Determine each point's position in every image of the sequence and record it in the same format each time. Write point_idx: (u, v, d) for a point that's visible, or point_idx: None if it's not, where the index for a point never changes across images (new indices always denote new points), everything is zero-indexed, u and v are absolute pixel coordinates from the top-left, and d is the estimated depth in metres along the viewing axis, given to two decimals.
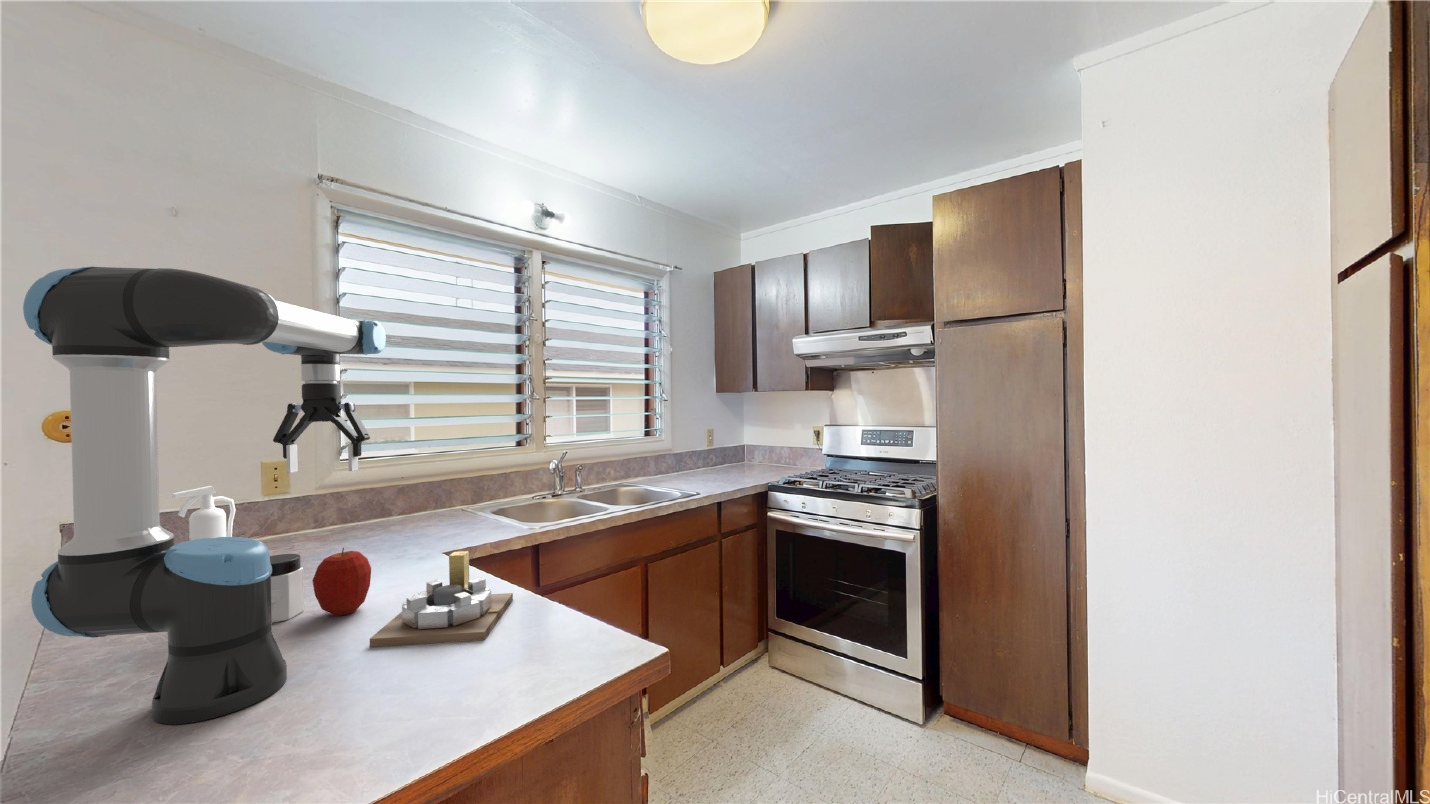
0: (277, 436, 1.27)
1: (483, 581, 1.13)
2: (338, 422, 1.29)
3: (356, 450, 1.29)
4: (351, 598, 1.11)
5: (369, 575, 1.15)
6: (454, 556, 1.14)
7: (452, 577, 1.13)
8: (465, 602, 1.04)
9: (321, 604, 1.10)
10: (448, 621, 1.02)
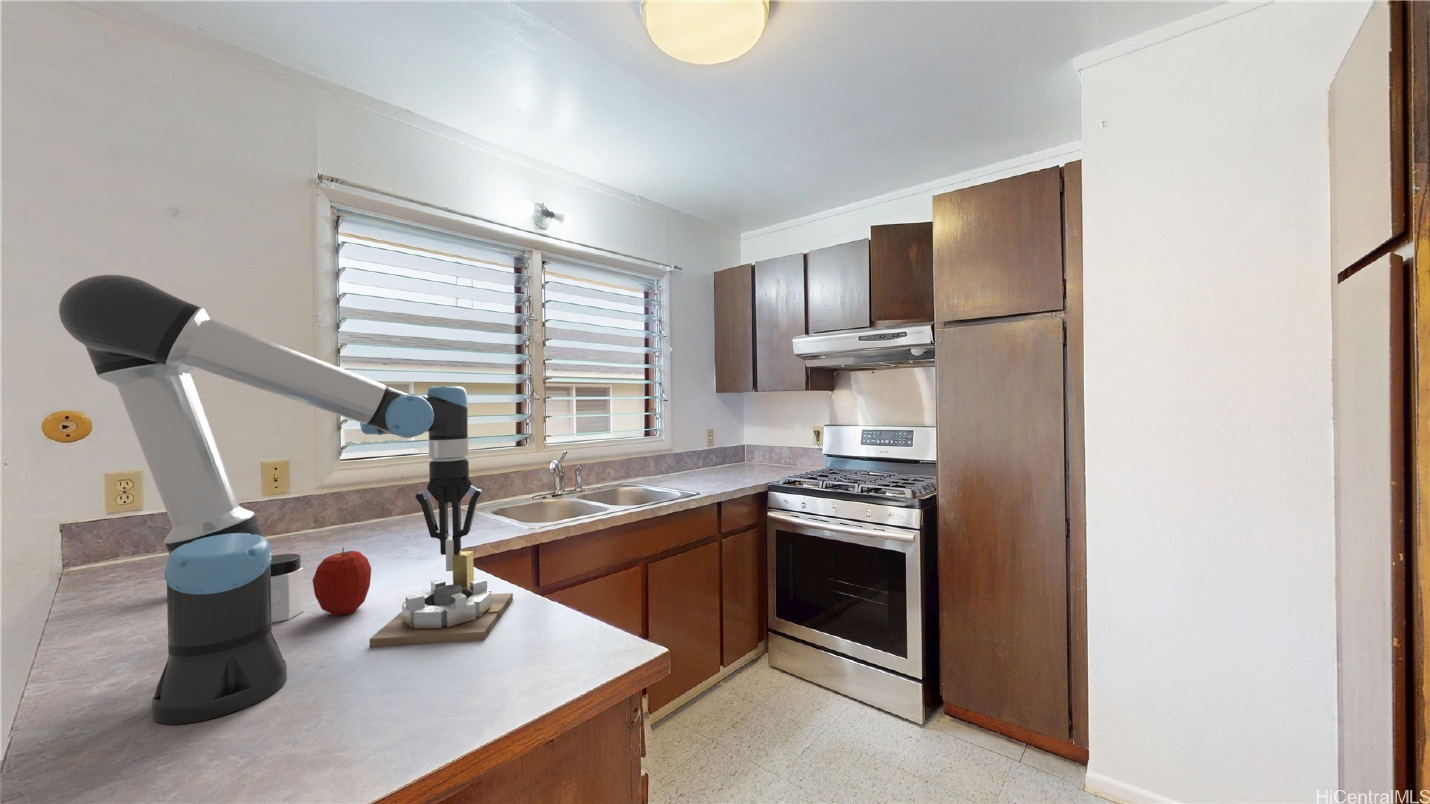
0: (431, 530, 1.13)
1: (484, 582, 1.13)
2: (456, 509, 1.14)
3: (457, 546, 1.15)
4: (351, 598, 1.11)
5: (369, 575, 1.15)
6: (457, 556, 1.14)
7: (455, 577, 1.14)
8: (460, 603, 1.03)
9: (321, 604, 1.10)
10: (442, 622, 1.02)
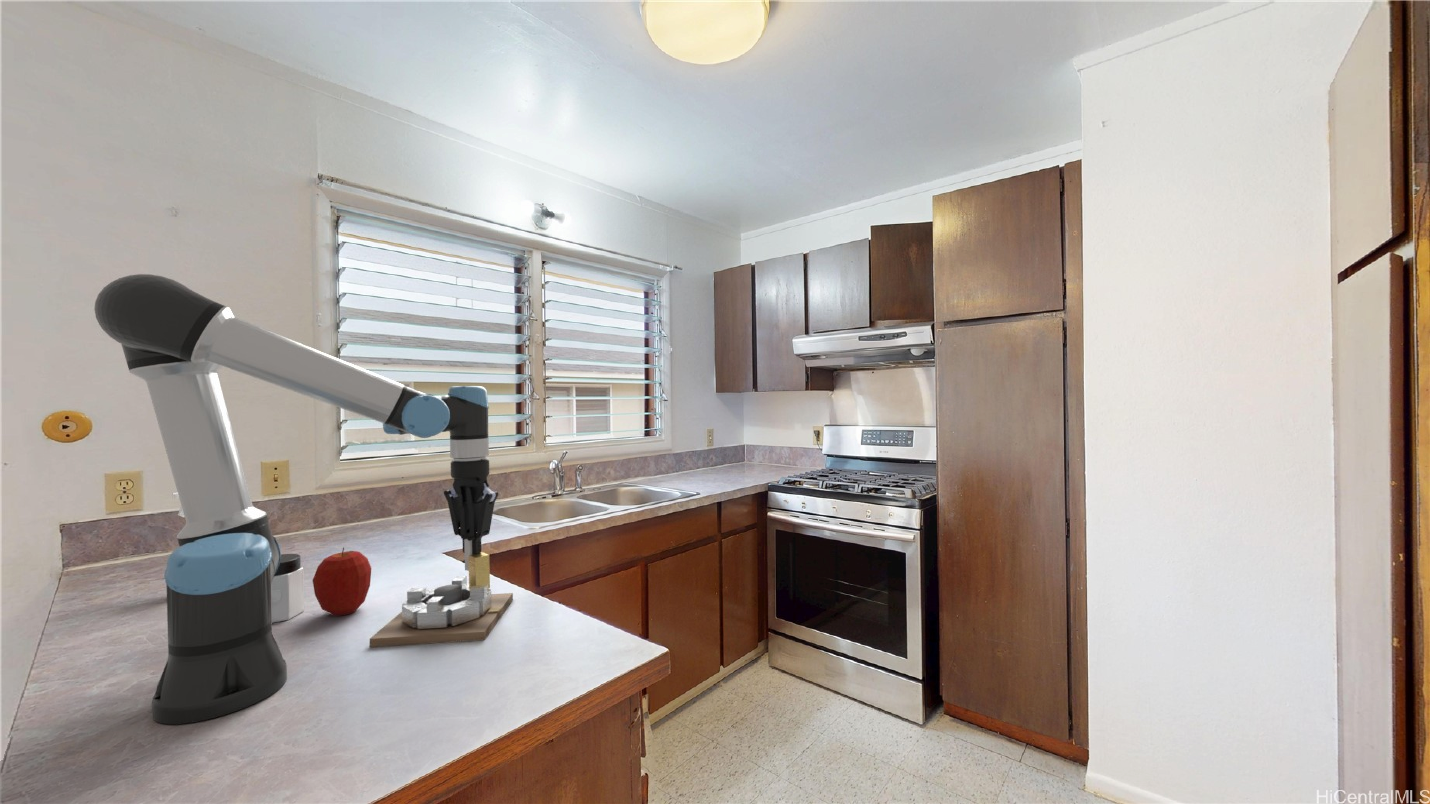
0: (455, 528, 1.15)
1: (481, 590, 1.08)
2: (472, 510, 1.13)
3: (474, 547, 1.14)
4: (351, 598, 1.11)
5: (369, 575, 1.15)
6: (471, 557, 1.13)
7: (470, 578, 1.13)
8: (431, 608, 1.01)
9: (321, 604, 1.10)
10: (416, 622, 1.02)
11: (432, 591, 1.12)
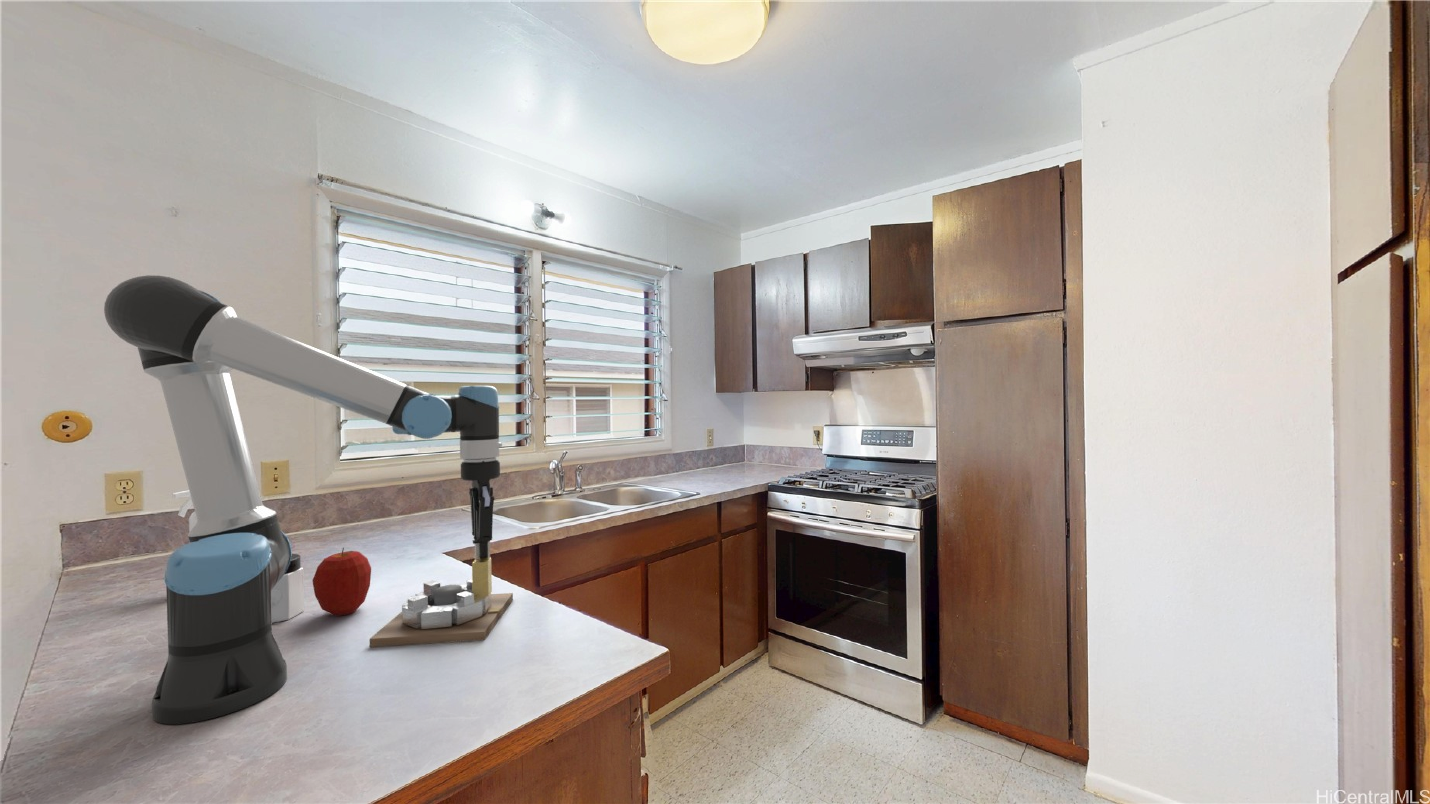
0: (472, 528, 1.15)
1: (462, 598, 1.04)
2: (476, 513, 1.11)
3: (480, 551, 1.11)
4: (351, 598, 1.11)
5: (369, 575, 1.15)
6: None
7: None
8: (409, 606, 1.03)
9: (321, 604, 1.10)
10: None
11: None
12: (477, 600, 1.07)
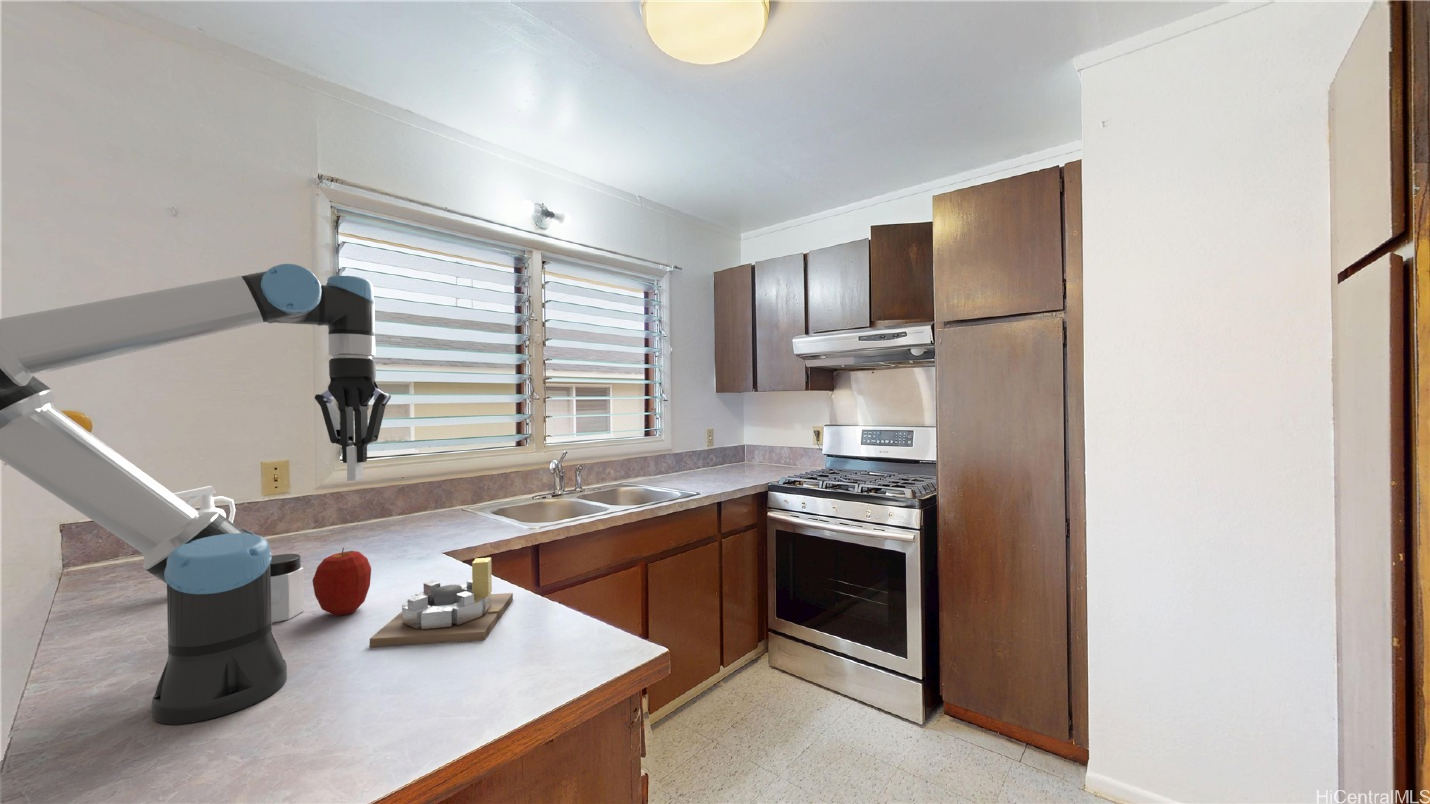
0: (332, 435, 1.03)
1: (462, 598, 1.04)
2: (359, 413, 1.04)
3: (361, 454, 1.04)
4: (351, 598, 1.11)
5: (369, 575, 1.15)
6: None
7: None
8: (409, 606, 1.03)
9: (321, 604, 1.10)
10: None
11: None
12: (477, 600, 1.07)
